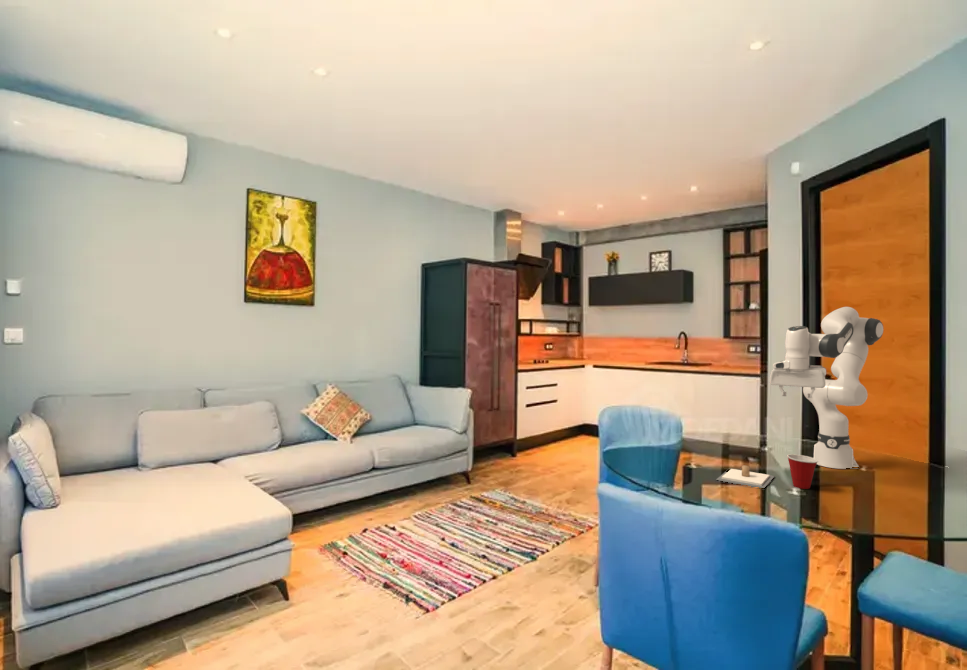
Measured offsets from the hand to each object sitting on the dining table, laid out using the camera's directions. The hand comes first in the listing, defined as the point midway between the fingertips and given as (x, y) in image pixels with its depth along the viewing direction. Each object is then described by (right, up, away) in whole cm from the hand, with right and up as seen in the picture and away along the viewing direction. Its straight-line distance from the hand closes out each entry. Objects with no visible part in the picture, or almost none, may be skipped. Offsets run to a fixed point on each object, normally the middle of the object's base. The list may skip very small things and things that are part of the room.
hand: (796, 397), depth 219 cm
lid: (-23, -34, -2) cm, 41 cm away
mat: (-23, -34, -2) cm, 41 cm away
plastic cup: (-5, -35, -12) cm, 37 cm away
